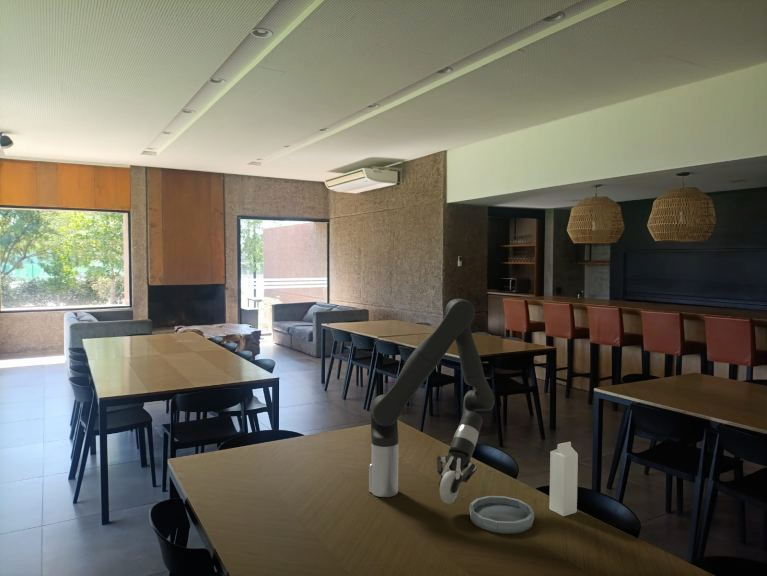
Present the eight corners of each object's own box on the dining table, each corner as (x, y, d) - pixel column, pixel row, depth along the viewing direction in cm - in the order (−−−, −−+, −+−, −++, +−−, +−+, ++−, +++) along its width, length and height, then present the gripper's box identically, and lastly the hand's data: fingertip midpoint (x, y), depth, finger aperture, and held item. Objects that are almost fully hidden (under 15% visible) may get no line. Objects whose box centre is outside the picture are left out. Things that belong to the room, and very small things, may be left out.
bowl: (459, 522, 169) (459, 512, 169) (484, 500, 185) (484, 491, 185) (520, 539, 159) (520, 528, 159) (541, 515, 175) (541, 505, 175)
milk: (576, 512, 177) (578, 444, 176) (563, 516, 174) (565, 447, 173) (562, 505, 182) (563, 438, 181) (548, 509, 179) (550, 441, 178)
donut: (447, 509, 171) (447, 477, 171) (437, 506, 173) (437, 475, 172) (461, 498, 179) (461, 467, 179) (451, 496, 181) (451, 465, 181)
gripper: (441, 432, 185) (423, 479, 176) (481, 440, 178) (464, 490, 168) (448, 443, 190) (430, 490, 180) (487, 452, 182) (470, 501, 173)
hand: (446, 490), depth 174 cm, fingers closed on donut, 3 cm apart
